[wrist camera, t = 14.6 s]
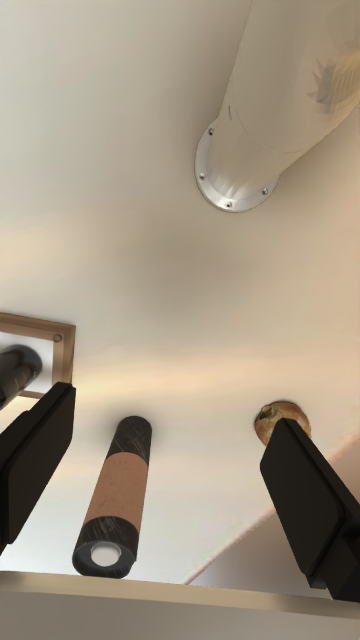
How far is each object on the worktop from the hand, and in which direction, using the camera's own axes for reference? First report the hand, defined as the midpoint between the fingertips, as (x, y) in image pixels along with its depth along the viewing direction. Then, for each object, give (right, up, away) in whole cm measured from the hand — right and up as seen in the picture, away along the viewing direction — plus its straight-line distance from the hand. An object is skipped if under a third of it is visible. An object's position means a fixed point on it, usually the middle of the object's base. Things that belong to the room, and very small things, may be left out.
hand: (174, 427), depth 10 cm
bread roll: (+21, -16, +35) cm, 44 cm away
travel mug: (-9, -18, +35) cm, 40 cm away
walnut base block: (-26, -1, +29) cm, 39 cm away
